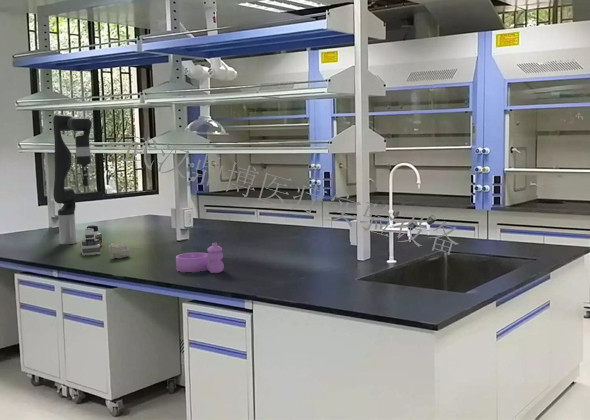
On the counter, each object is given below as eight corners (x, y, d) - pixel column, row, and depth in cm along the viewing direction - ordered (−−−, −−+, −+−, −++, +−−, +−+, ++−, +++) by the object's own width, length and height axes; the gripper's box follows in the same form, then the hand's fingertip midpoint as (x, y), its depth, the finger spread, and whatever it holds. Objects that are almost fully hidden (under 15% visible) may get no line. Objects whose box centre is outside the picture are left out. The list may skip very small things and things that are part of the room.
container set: (169, 270, 296) (168, 242, 295) (192, 264, 309) (191, 237, 307) (210, 276, 282) (209, 246, 281) (233, 269, 295) (231, 241, 293)
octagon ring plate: (81, 252, 351) (80, 239, 350) (98, 250, 354) (97, 237, 353) (82, 255, 340) (81, 242, 339) (100, 254, 343) (99, 241, 342)
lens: (85, 243, 348) (84, 228, 347) (94, 242, 349) (93, 227, 348) (85, 245, 343) (84, 229, 342) (94, 244, 345) (93, 228, 344)
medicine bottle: (96, 247, 364) (94, 226, 363) (84, 247, 366) (83, 226, 364) (102, 245, 371) (101, 224, 370) (91, 245, 372) (89, 224, 371)
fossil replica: (133, 255, 337) (114, 257, 337) (131, 240, 336) (112, 242, 337) (126, 258, 325) (107, 260, 325) (124, 242, 324) (105, 244, 325)
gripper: (91, 155, 342) (93, 185, 344) (89, 154, 355) (91, 184, 357) (76, 156, 339) (78, 186, 341) (75, 155, 352) (77, 184, 354)
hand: (85, 185), depth 349 cm, fingers open, 8 cm apart
